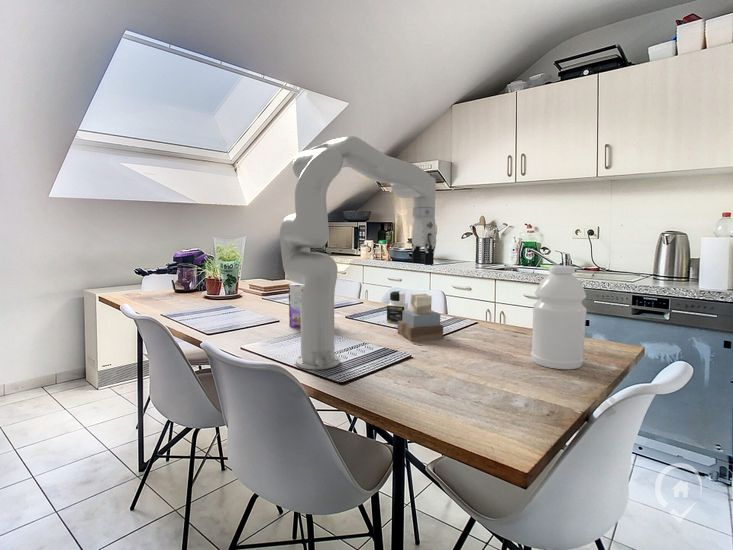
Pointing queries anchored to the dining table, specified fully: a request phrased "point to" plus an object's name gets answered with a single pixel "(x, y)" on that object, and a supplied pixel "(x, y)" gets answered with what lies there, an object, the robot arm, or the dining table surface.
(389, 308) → the medicine bottle
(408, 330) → the walnut base block
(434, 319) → the slate top block
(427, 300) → the maple block
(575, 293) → the bottle
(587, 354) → the dining table surface
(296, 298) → the candy box
